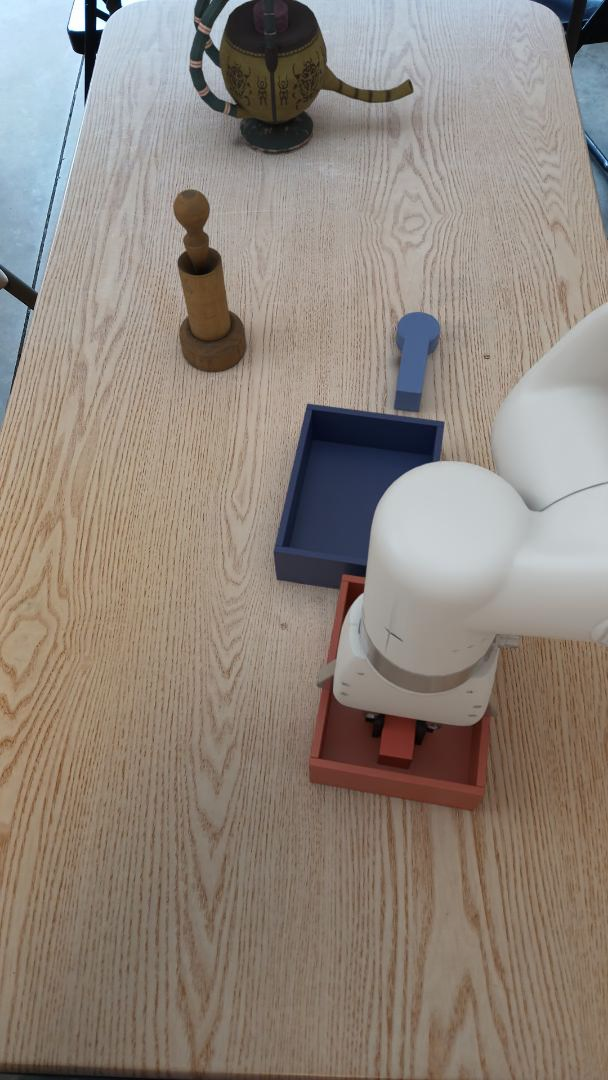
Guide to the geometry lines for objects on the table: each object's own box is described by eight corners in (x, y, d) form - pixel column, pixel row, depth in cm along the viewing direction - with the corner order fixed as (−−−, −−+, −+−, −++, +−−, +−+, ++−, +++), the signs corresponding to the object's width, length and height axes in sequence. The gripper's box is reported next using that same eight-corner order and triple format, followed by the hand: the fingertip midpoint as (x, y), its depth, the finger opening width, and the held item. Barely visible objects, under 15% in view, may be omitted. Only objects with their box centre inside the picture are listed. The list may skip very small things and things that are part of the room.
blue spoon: (428, 413, 79) (431, 394, 77) (384, 408, 79) (386, 388, 77) (439, 328, 84) (443, 308, 82) (398, 323, 85) (400, 303, 82)
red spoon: (420, 771, 62) (424, 762, 60) (364, 762, 62) (366, 752, 60) (435, 637, 67) (440, 623, 65) (384, 628, 68) (386, 614, 65)
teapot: (205, 102, 104) (177, -118, 83) (406, 96, 103) (426, -126, 83) (200, 164, 98) (169, -56, 77) (413, 159, 97) (437, -64, 77)
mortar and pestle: (168, 345, 84) (133, 192, 68) (218, 313, 86) (195, 158, 70) (209, 383, 81) (182, 233, 66) (259, 349, 83) (245, 196, 68)
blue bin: (419, 601, 69) (426, 574, 65) (276, 579, 71) (273, 551, 66) (437, 454, 77) (444, 421, 72) (307, 437, 78) (307, 403, 74)
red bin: (473, 811, 61) (484, 796, 57) (309, 782, 62) (308, 765, 58) (487, 623, 68) (499, 597, 64) (341, 600, 70) (342, 573, 65)
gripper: (569, 589, 49) (506, 693, 65) (300, 548, 50) (304, 659, 66) (566, 711, 45) (500, 789, 61) (276, 663, 47) (286, 751, 63)
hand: (398, 721), depth 64 cm, fingers closed on red spoon, 2 cm apart
